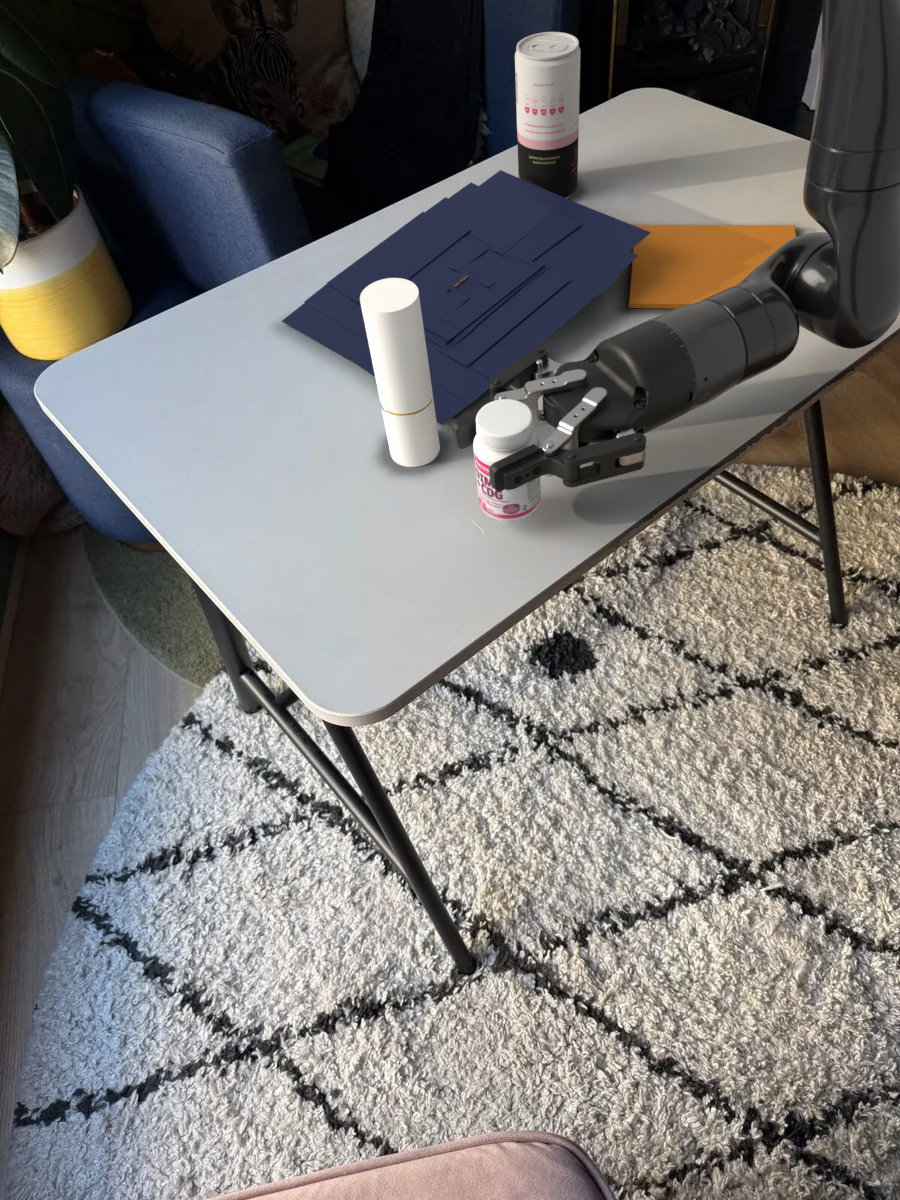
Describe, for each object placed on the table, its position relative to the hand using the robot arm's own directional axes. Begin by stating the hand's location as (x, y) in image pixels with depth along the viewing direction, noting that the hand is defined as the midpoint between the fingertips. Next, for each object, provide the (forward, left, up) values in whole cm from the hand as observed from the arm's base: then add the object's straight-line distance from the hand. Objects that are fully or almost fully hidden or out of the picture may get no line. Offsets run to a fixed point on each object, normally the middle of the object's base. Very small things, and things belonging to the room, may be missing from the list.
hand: (474, 457), depth 62 cm
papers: (+6, -30, -8) cm, 32 cm away
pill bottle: (-2, -2, -6) cm, 7 cm away
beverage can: (0, -52, -8) cm, 52 cm away
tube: (+7, -9, -8) cm, 14 cm away
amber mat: (-18, -37, -8) cm, 42 cm away
